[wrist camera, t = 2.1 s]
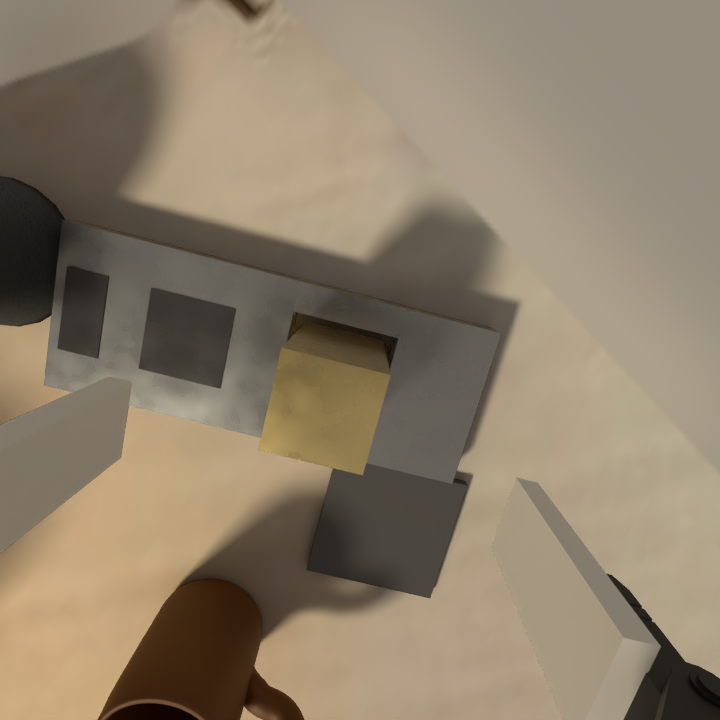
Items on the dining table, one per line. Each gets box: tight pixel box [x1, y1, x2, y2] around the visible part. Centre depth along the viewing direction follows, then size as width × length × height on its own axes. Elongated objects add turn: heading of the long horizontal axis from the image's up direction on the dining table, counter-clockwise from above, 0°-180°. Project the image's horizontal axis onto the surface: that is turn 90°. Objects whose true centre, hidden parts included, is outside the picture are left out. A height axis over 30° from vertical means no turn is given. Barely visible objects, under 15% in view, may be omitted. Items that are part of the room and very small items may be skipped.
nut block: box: [259, 321, 391, 475], centre depth 25 cm, size 5×5×9 cm
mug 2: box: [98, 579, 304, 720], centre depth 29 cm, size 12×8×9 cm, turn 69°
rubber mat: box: [307, 463, 467, 598], centre depth 31 cm, size 9×9×1 cm
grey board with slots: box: [44, 220, 501, 484], centre depth 28 cm, size 26×10×2 cm, turn 76°
